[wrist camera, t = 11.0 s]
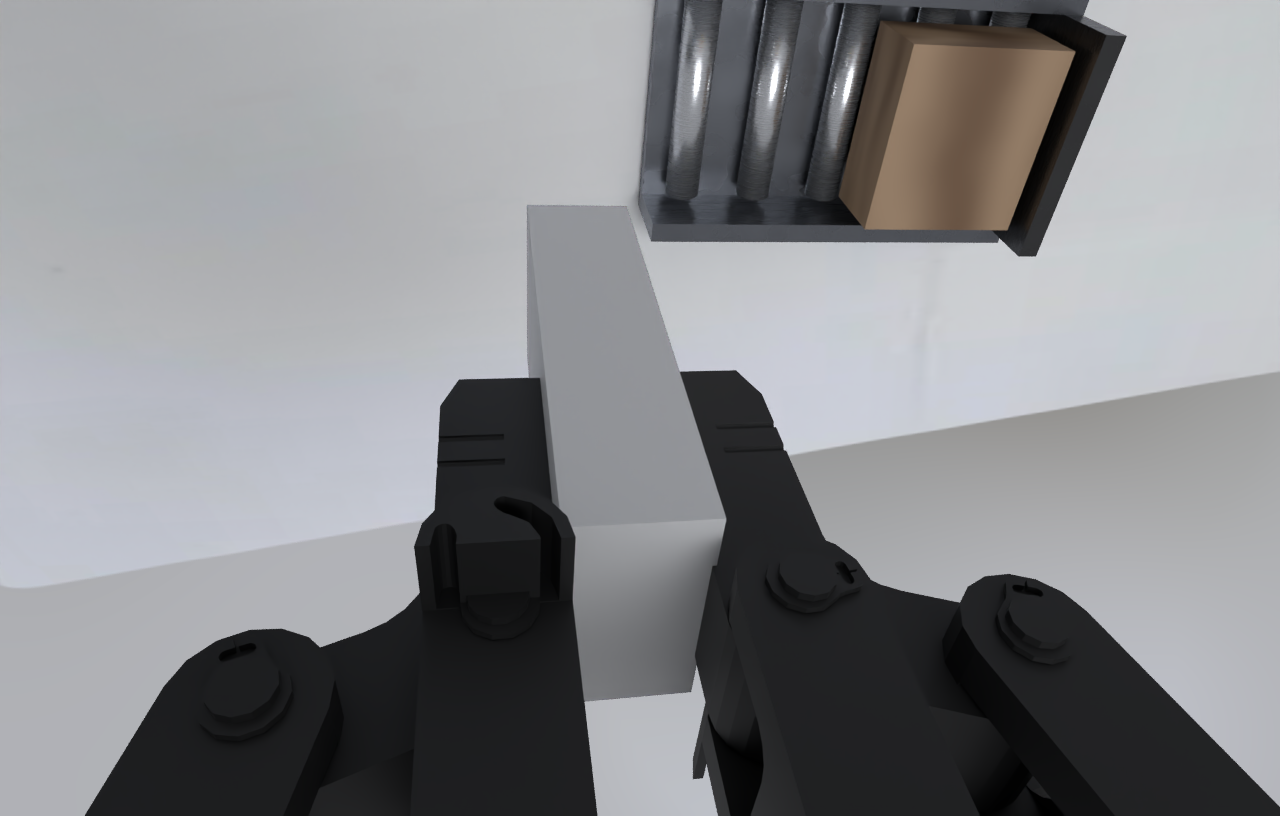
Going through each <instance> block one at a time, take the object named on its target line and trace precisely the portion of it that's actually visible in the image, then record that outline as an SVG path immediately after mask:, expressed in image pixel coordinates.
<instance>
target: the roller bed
mask: <svg viewBox="0 0 1280 816" xmlns="http://www.w3.org/2000/svg"><path fill="white" fill-rule="evenodd" d="M1088 2H1089V0H656V3H655V15H654V27H653V39H652V50H651V62H650V74H649V86H648V98H647V109H646V121H645V133H644V145H643V156H642V168H641V180H640V192H639V203H638V205H639V208H640V211H641V214H642V217H643V219H644V222H645V225H646V228H647V231H648V234H649V237H650V240H651V241H662V242H956V243H998V240H999V238H1000V239H1001V240H1002V241H1003V242H1004V243H1005V244H1006V245H1007V246H1008V247H1009V248H1010V249H1011V250H1012V251H1013V252H1015V253H1016V254H1017V255H1018V256H1036V255H1037V252H1038V250H1039V247H1040V245H1041V243H1042V240H1043V238H1044V235H1045V233H1046V230H1047V228H1048V226H1049V223H1050V221H1051V218H1052V216H1053V213H1054V211H1055V209H1056V206H1057V204H1058V201H1059V199H1060V197H1061V194H1062V192H1063V189H1064V187H1065V184H1066V182H1067V180H1068V177H1069V175H1070V172H1071V170H1072V167H1073V165H1074V163H1075V160H1076V158H1077V155H1078V153H1079V151H1080V148H1081V146H1082V143H1083V141H1084V138H1085V136H1086V134H1087V131H1088V129H1089V126H1090V124H1091V121H1092V119H1093V117H1094V114H1095V112H1096V109H1097V107H1098V105H1099V102H1100V100H1101V97H1102V95H1103V92H1104V90H1105V88H1106V85H1107V83H1108V80H1109V78H1110V75H1111V73H1112V71H1113V68H1114V66H1115V63H1116V61H1117V59H1118V56H1119V54H1120V51H1121V49H1122V46H1123V44H1124V42H1125V39H1126V37H1127V36H1126V35H1123V34H1121V33H1119V32H1117V31H1115V30H1113V29H1110V28H1108V27H1106V26H1104V25H1102V24H1100V23H1097V22H1095V21H1093V20H1091V19H1089V18H1087V17H1084V16H1083V15H1084V12H1085V10H1086V7H1087V4H1088ZM881 21H899V22H918V23H938V24H958V25H978V26H997V27H1017V28H1032V29H1034V30H1036V31H1038V32H1040V33H1041V34H1043V35H1045V36H1047V37H1049V38H1051V39H1053V40H1055V41H1057V42H1058V43H1060V44H1062V45H1064V46H1066V47H1068V48H1070V49H1072V50H1074V51H1076V52H1075V55H1074V57H1073V60H1072V62H1071V65H1070V68H1069V70H1068V73H1067V76H1066V78H1065V81H1064V83H1063V86H1062V89H1061V91H1060V94H1059V97H1058V99H1057V102H1056V104H1055V107H1054V110H1053V112H1052V115H1051V117H1050V120H1049V123H1048V125H1047V128H1046V131H1045V133H1044V136H1043V138H1042V141H1041V144H1040V146H1039V149H1038V152H1037V154H1036V157H1035V159H1034V162H1033V165H1032V167H1031V170H1030V172H1029V175H1028V178H1027V180H1026V183H1025V186H1024V188H1023V191H1022V193H1021V196H1020V199H1019V201H1018V204H1017V207H1016V209H1015V212H1014V214H1013V217H1012V220H1011V222H1010V225H1009V227H1008V230H882V229H864V228H863V227H862V225H861V224H860V223H859V222H858V220H857V219H856V218H855V216H854V215H853V214H852V213H851V211H850V210H849V209H848V208H847V206H846V205H845V204H844V202H843V201H842V200H841V199H840V197H839V192H840V188H841V184H842V180H843V176H844V172H845V167H846V163H847V159H848V155H849V151H850V147H851V142H852V138H853V134H854V130H855V126H856V122H857V118H858V113H859V109H860V105H861V101H862V97H863V93H864V88H865V84H866V80H867V76H868V72H869V68H870V63H871V59H872V55H873V51H874V47H875V43H876V38H877V34H878V30H879V26H880V22H881Z"/></svg>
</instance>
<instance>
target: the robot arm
mask: <svg viewBox="0 0 1280 816" xmlns="http://www.w3.org/2000/svg"><path fill="white" fill-rule="evenodd" d="M527 358H528V370H529V378H505V379H464V380H458V382H457V383H456V385H455V386H454V387H453V389H452V390H451V392H450V393H449V395H448V396H447V397H446V399H445V400H444V402H443V403H442V404H441V406H440V422H439V442H438V458H437V464H438V468H437V477H436V495H435V511H434V512H433V513H432V514H431V515H430V516H429V517H428V518H427V519H426V520H425V521H424V522H423V523H422V525H421V528H420V531H419V534H418V537H417V540H416V543H415V546H414V549H415V557H416V565H417V573H418V581H419V589H420V593H419V595H418V596H417V597H416V598H415V599H414V600H413V601H412V602H411V603H410V604H409V605H408V606H407V607H406V609H405V610H403V611H402V612H400V613H399V614H397V615H396V616H394V617H393V618H392V619H390V620H389V621H387V622H386V623H383V624H381V625H379V626H377V627H375V628H372V629H370V630H368V631H366V632H364V633H361V634H358V635H355V636H352V637H349V638H346V639H343V640H340V641H337V642H335V643H332V644H329V645H326V646H323V647H319V646H318V645H317V644H315V643H314V642H313V641H312V640H311V639H310V638H309V637H306V636H303V635H300V634H297V633H294V632H290V631H287V630H284V629H262V630H248V631H245V632H242V633H239V634H236V635H233V636H230V637H227V638H224V639H221V640H218V641H216V642H214V643H213V644H211V645H210V646H208V647H206V648H205V649H203V650H202V651H200V652H199V653H197V654H196V655H194V656H193V657H192V658H190V659H188V660H187V661H186V662H185V663H184V664H183V665H182V666H181V667H180V669H179V670H178V671H177V672H176V673H175V674H174V676H173V677H172V678H171V679H170V680H169V681H168V682H167V684H166V685H165V686H164V687H163V689H162V691H161V692H160V694H159V695H158V697H157V699H156V700H155V702H154V704H153V705H152V707H151V708H150V710H149V712H148V713H147V715H146V716H145V718H144V720H143V721H142V723H141V725H140V726H139V728H138V730H137V731H136V733H135V734H134V736H133V738H132V739H131V741H130V743H129V744H128V746H127V747H126V749H125V751H124V752H123V754H122V756H121V757H120V759H119V761H118V762H117V764H116V765H115V767H114V769H113V770H112V772H111V774H110V775H109V777H108V778H107V780H106V782H105V783H104V785H103V787H102V788H101V790H100V792H99V793H98V795H97V796H96V798H95V800H94V801H93V803H92V805H91V806H90V808H89V809H88V811H87V813H86V814H85V816H597V808H596V799H595V790H594V782H593V774H592V764H591V756H590V747H589V738H588V730H587V721H586V712H585V703H584V702H585V701H595V700H607V699H618V698H629V697H641V696H651V695H663V694H674V693H686V692H691V689H692V685H693V680H694V675H695V670H696V666H697V668H698V671H699V676H700V680H701V684H702V688H703V693H704V697H705V701H706V703H705V707H704V712H703V716H702V721H701V725H700V730H699V734H698V738H697V743H696V747H695V752H694V756H693V779H699V778H703V776H704V771H705V767H706V763H707V767H708V772H709V777H710V781H711V786H712V790H713V795H714V799H715V804H716V808H717V813H718V816H1280V807H1279V806H1278V805H1277V804H1276V803H1275V802H1274V801H1273V800H1272V799H1271V798H1270V797H1269V796H1268V795H1267V794H1266V793H1265V792H1264V791H1263V790H1262V789H1261V788H1260V787H1259V785H1258V784H1256V782H1255V781H1254V780H1252V779H1251V778H1250V776H1249V775H1248V774H1247V773H1246V772H1245V771H1244V770H1243V769H1242V768H1241V767H1240V766H1239V765H1238V764H1237V763H1236V762H1235V761H1234V760H1233V759H1232V758H1231V757H1230V756H1229V755H1228V754H1227V753H1226V752H1225V751H1224V750H1223V749H1222V748H1221V747H1220V746H1219V745H1218V744H1217V743H1216V742H1215V741H1214V740H1213V739H1212V738H1211V737H1210V736H1209V735H1208V734H1207V733H1206V732H1205V731H1204V730H1203V729H1202V728H1201V727H1200V726H1199V725H1198V724H1197V723H1196V722H1195V721H1194V720H1193V719H1192V718H1191V717H1190V716H1189V715H1188V714H1187V713H1186V711H1184V709H1183V708H1182V707H1181V706H1179V704H1178V703H1176V701H1175V700H1174V699H1173V698H1172V697H1171V696H1170V695H1169V694H1168V693H1167V692H1166V691H1165V690H1164V689H1163V688H1162V687H1161V686H1160V685H1159V684H1158V683H1157V682H1156V681H1155V680H1154V679H1153V678H1152V677H1151V676H1150V675H1149V674H1148V673H1147V672H1146V671H1145V670H1144V669H1143V668H1142V667H1141V666H1140V665H1139V664H1138V663H1137V662H1136V661H1135V660H1134V659H1133V658H1132V657H1131V656H1130V655H1129V654H1128V653H1127V652H1126V651H1125V650H1124V649H1123V648H1122V647H1121V646H1120V645H1119V644H1118V643H1117V642H1116V641H1115V640H1114V639H1113V638H1112V636H1111V635H1110V634H1108V633H1107V631H1106V630H1105V629H1104V628H1102V626H1101V625H1100V624H1099V623H1098V622H1097V621H1096V620H1095V619H1094V618H1092V616H1091V615H1090V614H1089V613H1088V612H1087V611H1086V610H1084V609H1083V608H1082V607H1081V606H1079V605H1078V604H1077V603H1076V602H1074V601H1073V600H1072V599H1071V598H1069V597H1068V596H1067V595H1065V594H1064V593H1063V592H1061V591H1059V590H1057V589H1055V588H1053V587H1050V586H1048V585H1046V584H1044V583H1042V582H1040V581H1038V580H1036V579H1031V578H1026V577H1021V576H1016V575H1011V574H1004V575H995V576H985V577H983V578H982V579H980V580H978V581H977V582H975V583H973V584H972V585H970V586H968V588H967V590H966V592H965V594H964V596H963V598H962V600H961V602H960V603H958V602H953V601H948V600H944V599H939V598H934V597H929V596H924V595H919V594H914V593H909V592H905V591H900V590H897V589H893V588H890V587H887V586H883V585H880V584H878V583H876V582H874V581H872V580H870V578H869V577H868V575H867V574H866V573H865V571H864V570H863V568H862V567H861V566H860V564H859V563H858V561H857V560H856V559H855V558H853V557H852V556H851V555H849V554H848V553H846V552H845V551H844V550H842V549H841V548H840V547H838V546H837V545H836V544H833V543H830V542H828V541H826V540H825V538H824V536H823V535H822V532H821V530H820V528H819V525H818V523H817V521H816V519H815V516H814V514H813V512H812V509H811V507H810V505H809V502H808V500H807V498H806V496H805V493H804V491H803V488H802V486H801V484H800V482H799V479H798V477H797V475H796V472H795V470H794V468H793V466H792V463H791V461H790V459H789V456H788V454H787V452H786V451H784V449H783V442H782V440H781V438H780V435H779V433H778V431H777V428H776V427H774V425H773V424H774V421H773V419H772V417H771V415H770V412H769V410H768V408H767V405H766V403H765V401H764V398H763V396H762V394H761V393H760V392H759V391H758V390H757V389H756V388H754V387H753V386H752V385H751V384H750V383H749V382H748V381H747V380H746V379H745V378H744V377H742V376H741V375H740V374H739V373H738V372H737V371H736V370H732V371H689V372H680V371H679V368H678V365H677V362H676V359H675V356H674V353H673V350H672V346H671V343H670V340H669V337H668V334H667V331H666V328H665V324H664V321H663V318H662V315H661V312H660V309H659V306H658V302H657V299H656V296H655V293H654V290H653V287H652V284H651V281H650V277H649V274H648V271H647V268H646V265H645V262H644V259H643V255H642V252H641V249H640V246H639V243H638V240H637V237H636V234H635V230H634V227H633V224H632V221H631V218H630V215H629V212H628V208H627V206H564V205H527Z"/></svg>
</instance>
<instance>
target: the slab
mask: <svg viewBox="0 0 1280 816" xmlns="http://www.w3.org/2000/svg"><path fill="white" fill-rule="evenodd" d="M1075 52H1076V51H1074V50H1072V49H1070V48H1068V47H1066V46H1064V45H1062V44H1060V43H1058V42H1057V41H1055V40H1053V39H1051V38H1049V37H1047V36H1045V35H1043V34H1041V33H1040V32H1038V31H1036V30H1034V29H1032V28H1017V27H997V26H978V25H958V24H938V23H918V22H899V21H881V22H880V26H879V30H878V34H877V38H876V43H875V47H874V51H873V55H872V59H871V63H870V68H869V72H868V76H867V80H866V84H865V88H864V93H863V97H862V101H861V105H860V109H859V113H858V118H857V122H856V126H855V130H854V134H853V138H852V142H851V147H850V151H849V155H848V159H847V163H846V167H845V172H844V176H843V180H842V184H841V188H840V192H839V197H840V199H841V200H842V201H843V202H844V204H845V205H846V206H847V208H848V209H849V210H850V211H851V213H852V214H853V215H854V216H855V218H856V219H857V220H858V222H859V223H860V224H861V225H862V227H863V228H864V229H882V230H1008V227H1009V225H1010V222H1011V220H1012V217H1013V214H1014V212H1015V209H1016V207H1017V204H1018V201H1019V199H1020V196H1021V193H1022V191H1023V188H1024V186H1025V183H1026V180H1027V178H1028V175H1029V172H1030V170H1031V167H1032V165H1033V162H1034V159H1035V157H1036V154H1037V152H1038V149H1039V146H1040V144H1041V141H1042V138H1043V136H1044V133H1045V131H1046V128H1047V125H1048V123H1049V120H1050V117H1051V115H1052V112H1053V110H1054V107H1055V104H1056V102H1057V99H1058V97H1059V94H1060V91H1061V89H1062V86H1063V83H1064V81H1065V78H1066V76H1067V73H1068V70H1069V68H1070V65H1071V62H1072V60H1073V57H1074V55H1075Z"/></svg>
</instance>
